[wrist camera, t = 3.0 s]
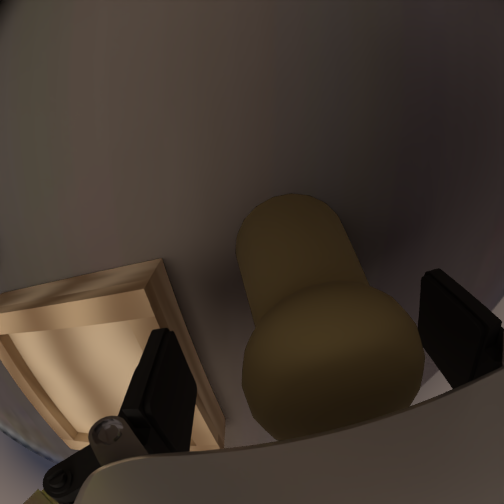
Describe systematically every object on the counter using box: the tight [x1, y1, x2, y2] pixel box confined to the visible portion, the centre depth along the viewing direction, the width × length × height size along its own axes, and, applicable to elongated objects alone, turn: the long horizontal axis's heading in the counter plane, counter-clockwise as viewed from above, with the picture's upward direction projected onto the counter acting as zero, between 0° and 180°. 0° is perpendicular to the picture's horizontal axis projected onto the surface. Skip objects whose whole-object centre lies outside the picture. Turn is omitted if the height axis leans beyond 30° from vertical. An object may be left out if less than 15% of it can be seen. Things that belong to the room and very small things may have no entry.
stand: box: [0, 258, 225, 451], centre depth 18 cm, size 14×14×4 cm
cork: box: [235, 194, 425, 441], centre depth 12 cm, size 6×6×11 cm
